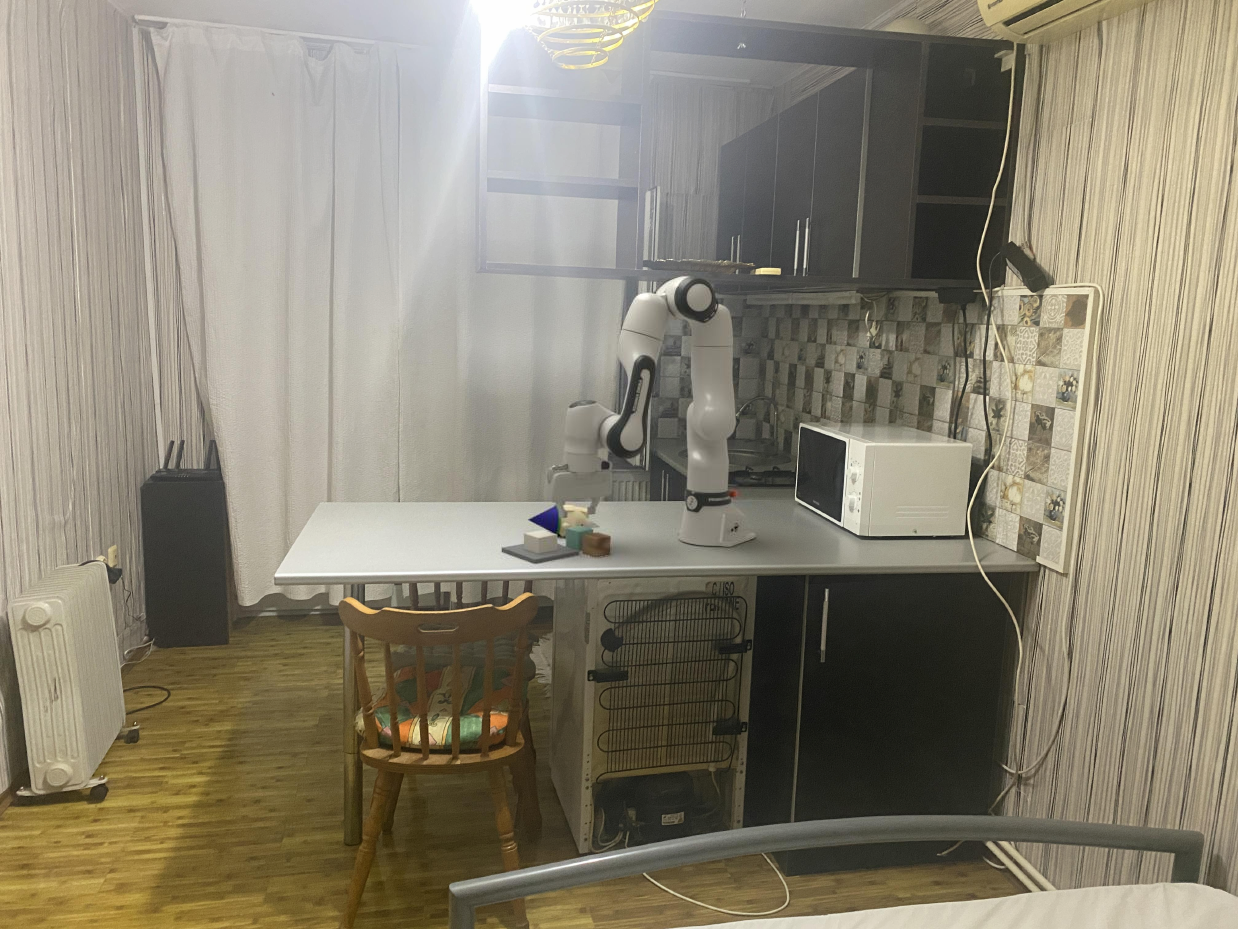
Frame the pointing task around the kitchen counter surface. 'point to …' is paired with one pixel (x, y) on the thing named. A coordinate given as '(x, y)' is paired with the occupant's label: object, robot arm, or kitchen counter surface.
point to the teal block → (576, 536)
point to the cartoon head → (563, 519)
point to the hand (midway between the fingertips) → (577, 515)
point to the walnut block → (596, 544)
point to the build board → (540, 556)
